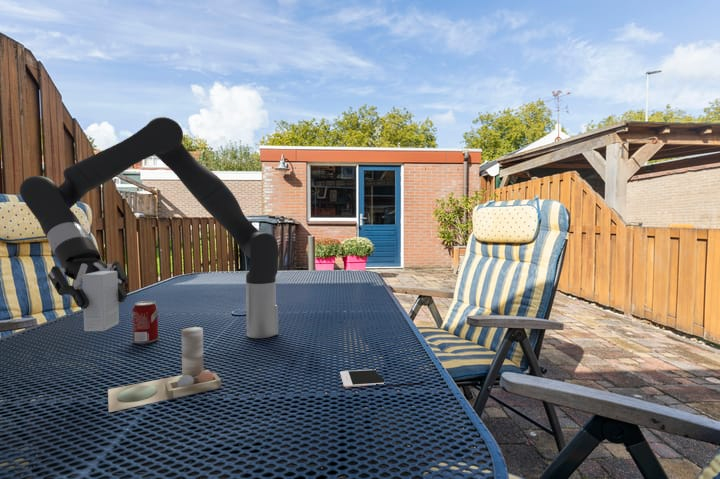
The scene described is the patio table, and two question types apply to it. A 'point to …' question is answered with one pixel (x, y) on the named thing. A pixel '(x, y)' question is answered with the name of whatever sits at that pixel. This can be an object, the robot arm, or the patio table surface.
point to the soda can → (145, 322)
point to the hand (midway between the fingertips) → (105, 303)
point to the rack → (168, 386)
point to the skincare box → (101, 300)
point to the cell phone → (360, 378)
